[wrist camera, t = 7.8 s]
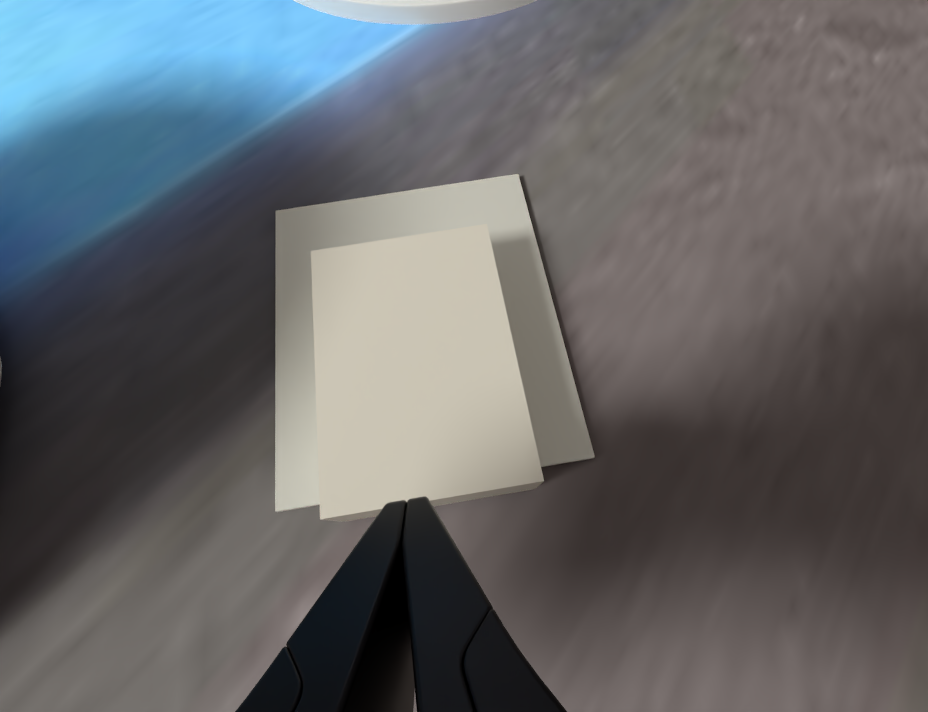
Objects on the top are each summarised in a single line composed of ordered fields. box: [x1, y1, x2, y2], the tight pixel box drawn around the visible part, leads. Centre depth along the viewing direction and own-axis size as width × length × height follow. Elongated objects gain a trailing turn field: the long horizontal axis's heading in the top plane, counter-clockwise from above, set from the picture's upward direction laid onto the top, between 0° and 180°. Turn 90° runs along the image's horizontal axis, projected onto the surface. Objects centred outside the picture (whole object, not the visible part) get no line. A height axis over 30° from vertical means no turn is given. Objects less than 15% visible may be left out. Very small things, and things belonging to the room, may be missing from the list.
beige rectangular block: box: [311, 224, 544, 522], centre depth 17 cm, size 3×7×10 cm
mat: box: [275, 174, 595, 512], centre depth 19 cm, size 14×12×1 cm
